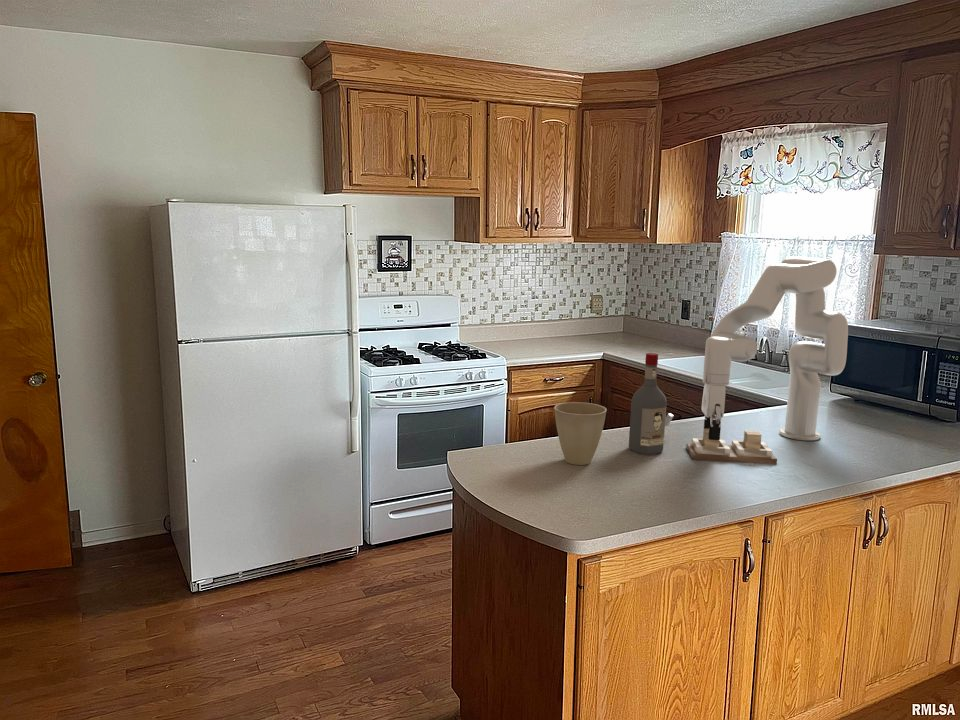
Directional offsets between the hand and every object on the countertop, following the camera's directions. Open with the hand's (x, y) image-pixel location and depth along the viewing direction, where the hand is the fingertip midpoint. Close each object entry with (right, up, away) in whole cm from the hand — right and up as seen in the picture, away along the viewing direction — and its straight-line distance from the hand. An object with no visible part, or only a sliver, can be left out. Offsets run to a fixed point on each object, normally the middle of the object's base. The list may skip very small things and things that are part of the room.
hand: (711, 435), depth 228 cm
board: (+6, -6, +1) cm, 8 cm away
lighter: (-10, -2, +20) cm, 22 cm away
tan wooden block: (0, -4, +1) cm, 4 cm away
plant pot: (-41, -7, -8) cm, 43 cm away
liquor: (-19, -5, +4) cm, 20 cm away
